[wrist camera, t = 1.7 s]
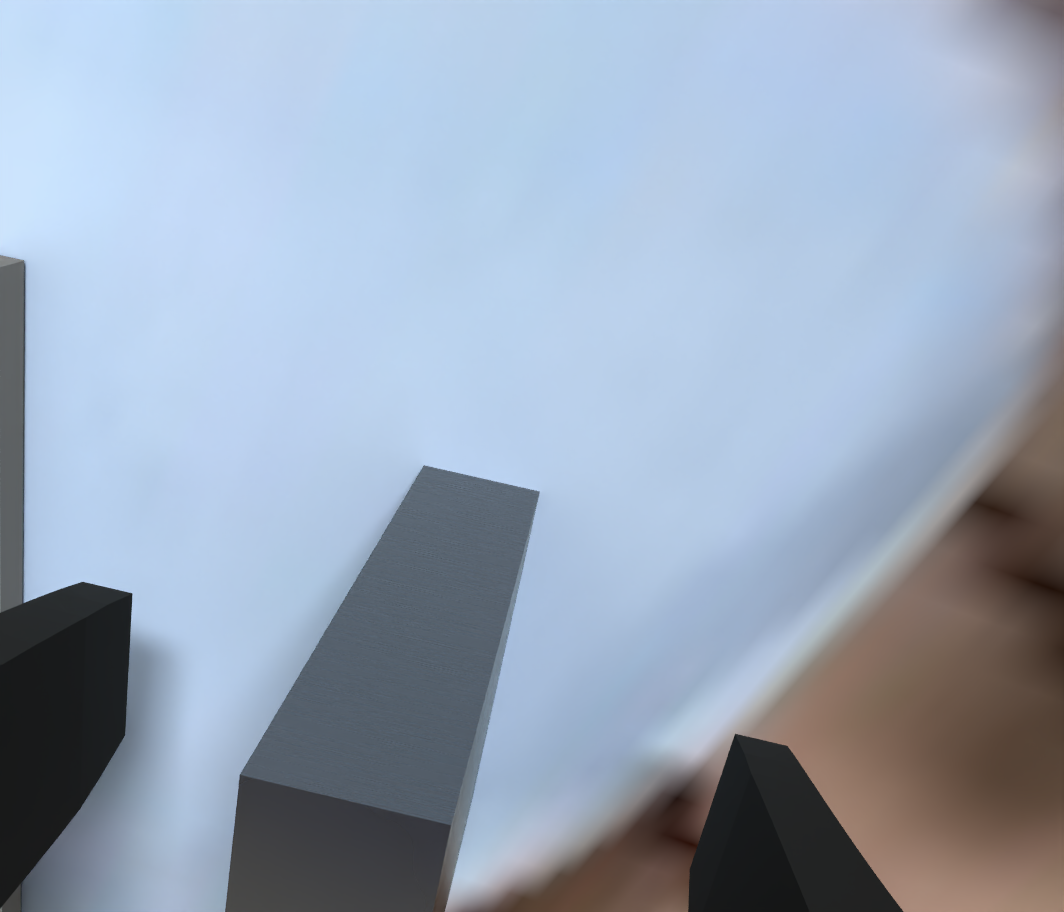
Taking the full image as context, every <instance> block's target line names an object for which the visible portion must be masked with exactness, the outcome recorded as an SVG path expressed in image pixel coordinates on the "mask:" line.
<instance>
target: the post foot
mask: <svg viewBox="0 0 1064 912" xmlns="http://www.w3.org/2000/svg"><path fill="white" fill-rule="evenodd" d="M23 398H24V260H19V259H15V258H10V257H6V256H1V255H0V613H1V612H3V611H6V610H8V609H11V608H13V607H16V606H18V605H21V604H22V596H23ZM0 912H21V884H20V885H19V886H18V888H17V889H16V890H15V891H14V892H13V894H12V895H11V896H10V897H9V899H8V900H7V901H6V902H5V904H4V905H3V906H2V907H1V909H0Z"/></svg>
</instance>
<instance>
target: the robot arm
mask: <svg viewBox="0 0 1064 912" xmlns="http://www.w3.org/2000/svg"><path fill="white" fill-rule="evenodd" d="M131 610H132V593H128V592H124V591H120V590H115V589H111V588H107V587H102V586H98V585H94V584H90V583H85V582H81V583H78V584H75V585H72V586H68V587H65V588H63V589H60V590H57V591H54V592H52V593H49V594H46V595H44V596H41V597H38V598H36V599H33V600H31V601H28V602H26V603H23V604H21V605H18V606H16V607H13V608H11V609H8V610H6V611H3V612H1V613H0V909H1V907H2V906H3V905H4V904H5V902H6V901H7V900H8V899H9V897H10V896H11V895H12V894H13V892H14V891H15V890H16V889H17V888H18V886H19V885H20V884H21V883H22V881H23V880H24V879H25V878H26V876H27V875H28V874H29V873H30V871H31V870H32V869H33V868H34V867H35V865H36V864H37V863H38V861H39V860H40V859H41V858H42V856H43V855H44V854H45V853H46V851H47V850H48V849H49V848H50V846H51V845H52V844H53V843H54V841H55V840H56V839H57V838H58V836H59V835H60V834H61V833H62V831H63V830H64V829H65V828H66V826H67V825H68V824H69V822H70V821H71V820H72V819H73V817H74V816H75V815H76V813H77V812H78V811H79V810H80V808H81V806H82V805H83V803H84V802H85V800H86V799H87V797H88V795H89V794H90V792H91V791H92V789H93V787H94V786H95V784H96V783H97V781H98V780H99V778H100V776H101V775H102V773H103V771H104V770H105V768H106V766H107V765H108V763H109V761H110V760H111V758H112V756H113V754H114V753H115V751H116V749H117V748H118V746H119V744H120V743H121V741H122V739H123V738H124V736H125V724H126V705H127V686H128V667H129V648H130V629H131ZM688 912H903V911H902V909H901V908H900V907H899V905H898V904H897V903H896V901H895V900H894V899H893V897H892V896H891V895H890V893H889V892H888V891H887V889H886V888H885V887H884V885H883V884H882V883H881V881H880V880H879V878H878V877H877V876H876V874H875V873H874V872H873V870H872V869H871V867H870V866H869V865H868V863H867V862H866V860H865V859H864V858H863V856H862V855H861V853H860V852H859V850H858V849H857V848H856V846H855V845H854V843H853V842H852V840H851V839H850V838H849V836H848V835H847V833H846V832H845V830H844V829H843V827H842V826H841V824H840V823H839V821H838V820H837V818H836V817H835V816H834V814H833V813H832V811H831V810H830V808H829V807H828V805H827V804H826V802H825V801H824V799H823V798H822V796H821V795H820V793H819V792H818V790H817V789H816V787H815V786H814V784H813V783H812V781H811V780H810V778H809V777H808V775H807V774H806V772H805V771H804V769H803V768H802V766H801V765H800V763H799V762H798V760H797V759H796V757H795V756H794V755H793V753H792V752H791V750H790V749H789V748H788V746H785V745H781V744H776V743H772V742H768V741H763V740H759V739H755V738H751V737H746V736H742V735H738V734H735V736H734V739H733V742H732V745H731V748H730V751H729V754H728V757H727V760H726V763H725V766H724V769H723V772H722V775H721V778H720V781H719V784H718V787H717V790H716V793H715V796H714V799H713V802H712V805H711V808H710V811H709V814H708V817H707V820H706V823H705V826H704V829H703V832H702V835H701V838H700V841H699V844H698V847H697V850H696V853H695V856H694V858H693V861H692V864H691V867H690V880H689V909H688Z"/></svg>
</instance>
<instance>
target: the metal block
mask: <svg viewBox="0 0 1064 912" xmlns="http://www.w3.org/2000/svg"><path fill="white" fill-rule="evenodd" d="M538 497H539V491H534V490H530V489H526V488H521V487H517V486H512V485H508V484H503V483H499V482H495V481H490V480H486V479H481V478H477V477H473V476H468V475H464V474H459V473H455V472H451V471H446V470H442V469H437V468H433V467H429V466H423V468H422V470H421V471H420V473H419V475H418V476H417V478H416V480H415V481H414V483H413V485H412V487H411V488H410V490H409V492H408V493H407V495H406V497H405V498H404V500H403V502H402V503H401V505H400V507H399V508H398V510H397V512H396V513H395V515H394V517H393V518H392V520H391V522H390V524H389V525H388V527H387V529H386V530H385V532H384V534H383V535H382V537H381V539H380V540H379V542H378V544H377V545H376V547H375V549H374V550H373V552H372V554H371V555H370V557H369V559H368V561H367V562H366V564H365V566H364V567H363V569H362V571H361V572H360V574H359V576H358V577H357V579H356V581H355V582H354V584H353V586H352V587H351V589H350V591H349V592H348V594H347V596H346V598H345V599H344V601H343V603H342V604H341V606H340V608H339V609H338V611H337V613H336V614H335V616H334V618H333V619H332V621H331V623H330V624H329V626H328V628H327V629H326V631H325V633H324V635H323V636H322V638H321V640H320V641H319V643H318V645H317V646H316V648H315V650H314V651H313V653H312V655H311V656H310V658H309V660H308V661H307V663H306V665H305V666H304V668H303V670H302V672H301V673H300V675H299V677H298V678H297V680H296V682H295V683H294V685H293V687H292V688H291V690H290V692H289V693H288V695H287V697H286V698H285V700H284V702H283V703H282V705H281V707H280V709H279V710H278V712H277V714H276V715H275V717H274V719H273V720H272V722H271V724H270V725H269V727H268V729H267V730H266V732H265V734H264V735H263V737H262V739H261V740H260V742H259V744H258V746H257V747H256V749H255V751H254V752H253V754H252V756H251V757H250V759H249V761H248V762H247V764H246V766H245V767H244V769H243V771H242V772H241V774H240V780H239V789H238V798H237V807H236V817H235V826H234V835H233V844H232V854H231V863H230V872H229V882H228V891H227V900H226V909H225V912H445V908H446V904H447V900H448V896H449V892H450V888H451V884H452V879H453V875H454V871H455V867H456V863H457V859H458V855H459V851H460V847H461V843H462V839H463V835H464V831H465V826H466V822H467V818H468V814H469V810H470V806H471V802H472V797H473V793H474V788H475V784H476V779H477V775H478V770H479V766H480V761H481V756H482V752H483V747H484V743H485V738H486V734H487V729H488V725H489V720H490V715H491V711H492V706H493V702H494V697H495V693H496V688H497V684H498V679H499V675H500V670H501V665H502V661H503V656H504V652H505V647H506V643H507V638H508V634H509V629H510V624H511V620H512V615H513V611H514V606H515V602H516V597H517V593H518V588H519V583H520V579H521V574H522V570H523V565H524V561H525V556H526V552H527V547H528V542H529V538H530V533H531V529H532V524H533V520H534V515H535V511H536V506H537V502H538Z"/></svg>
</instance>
